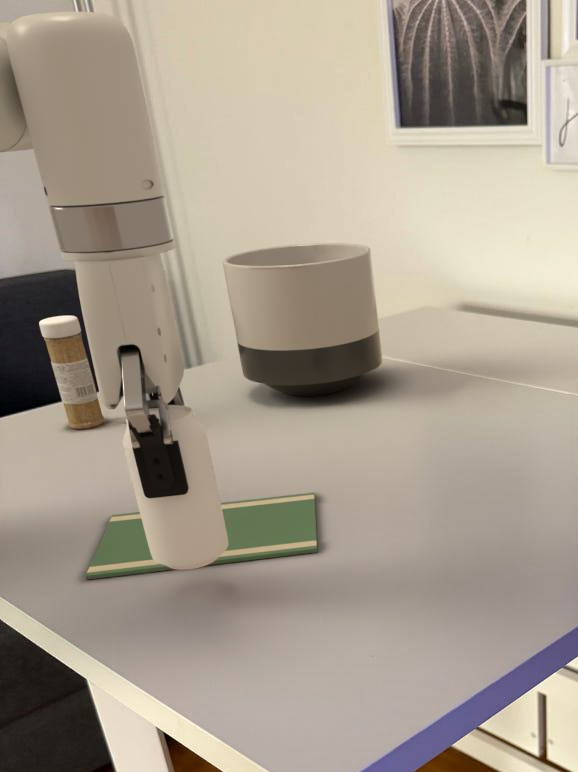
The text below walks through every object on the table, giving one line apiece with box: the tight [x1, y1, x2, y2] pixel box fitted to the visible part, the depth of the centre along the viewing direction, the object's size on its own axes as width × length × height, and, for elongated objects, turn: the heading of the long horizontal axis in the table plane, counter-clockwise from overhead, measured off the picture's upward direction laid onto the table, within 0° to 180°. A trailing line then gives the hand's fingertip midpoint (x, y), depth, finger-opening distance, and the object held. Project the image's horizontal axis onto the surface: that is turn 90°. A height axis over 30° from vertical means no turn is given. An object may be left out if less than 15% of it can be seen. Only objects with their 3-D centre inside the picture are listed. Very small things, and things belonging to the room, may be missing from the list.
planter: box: [222, 242, 383, 397], centre depth 127 cm, size 19×19×18 cm
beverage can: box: [122, 405, 228, 571], centre depth 73 cm, size 6×6×12 cm
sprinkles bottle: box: [38, 315, 105, 430], centre depth 118 cm, size 5×5×14 cm
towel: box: [85, 492, 319, 580], centre depth 88 cm, size 20×14×1 cm
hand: (172, 477), depth 73 cm, fingers closed on beverage can, 6 cm apart
